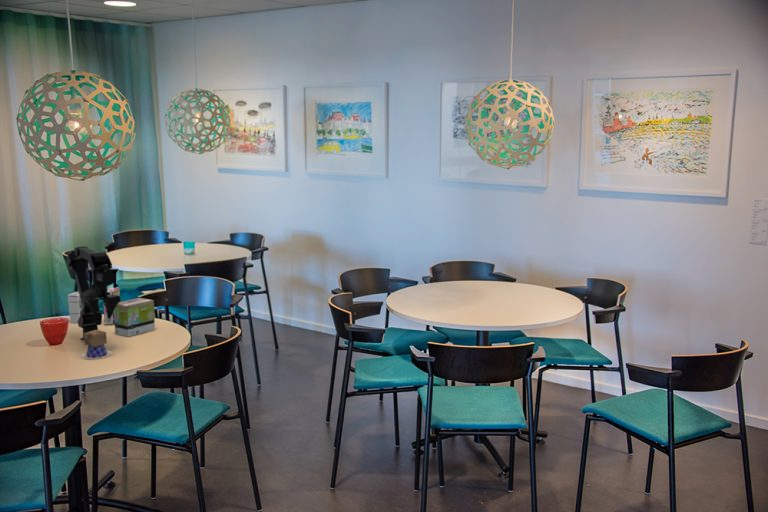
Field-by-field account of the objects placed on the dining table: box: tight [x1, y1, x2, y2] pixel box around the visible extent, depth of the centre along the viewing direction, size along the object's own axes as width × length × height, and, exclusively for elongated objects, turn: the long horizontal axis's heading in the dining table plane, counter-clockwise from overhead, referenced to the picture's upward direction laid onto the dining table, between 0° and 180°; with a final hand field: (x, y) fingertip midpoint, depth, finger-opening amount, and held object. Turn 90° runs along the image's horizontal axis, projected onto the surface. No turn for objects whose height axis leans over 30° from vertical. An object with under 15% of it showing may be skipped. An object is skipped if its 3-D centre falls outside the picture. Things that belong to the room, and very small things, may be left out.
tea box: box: [114, 297, 156, 338], centre depth 317 cm, size 15×10×15 cm
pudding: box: [80, 344, 113, 360], centre depth 284 cm, size 12×12×5 cm
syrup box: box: [67, 291, 82, 324], centre depth 334 cm, size 6×6×14 cm
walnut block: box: [83, 329, 108, 347], centre depth 283 cm, size 6×6×5 cm
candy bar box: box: [102, 287, 121, 326], centre depth 333 cm, size 11×5×16 cm, turn 5°
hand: (102, 317), depth 294 cm, fingers open, 9 cm apart
